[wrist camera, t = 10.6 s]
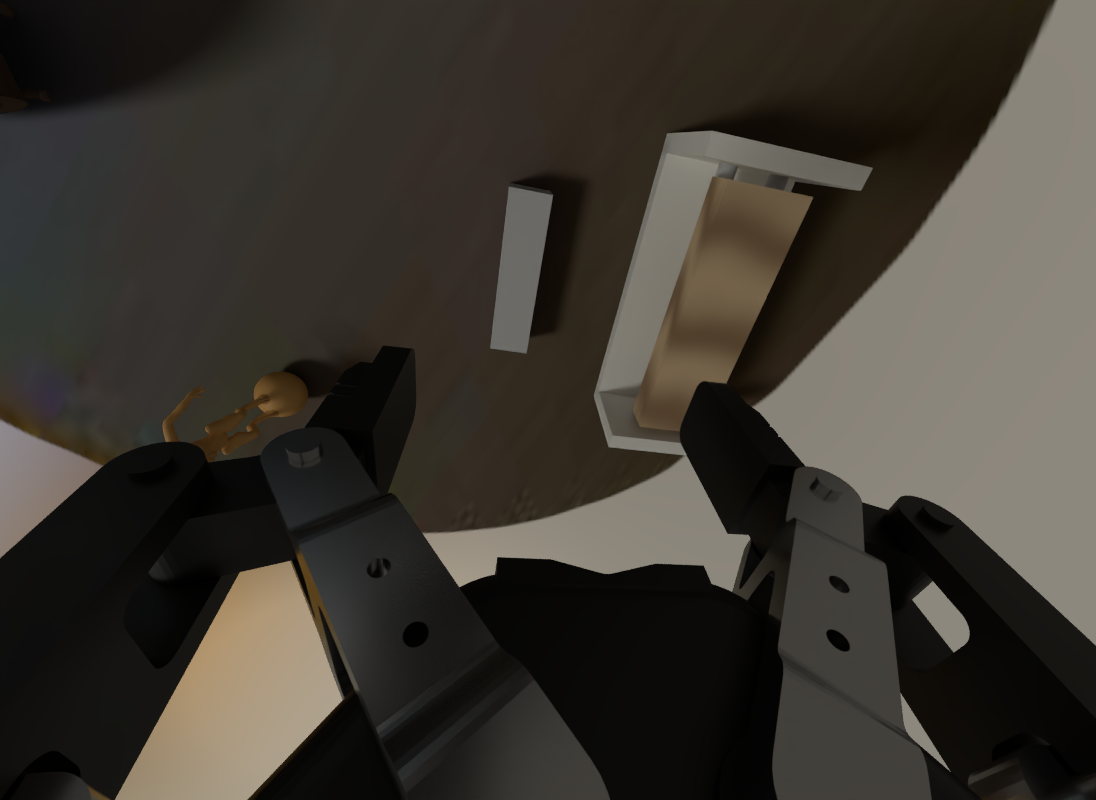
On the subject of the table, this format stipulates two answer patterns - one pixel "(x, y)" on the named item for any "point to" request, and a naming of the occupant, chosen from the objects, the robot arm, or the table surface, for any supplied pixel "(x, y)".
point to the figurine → (245, 413)
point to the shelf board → (717, 294)
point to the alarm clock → (3, 89)
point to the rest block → (520, 266)
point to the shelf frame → (664, 250)
